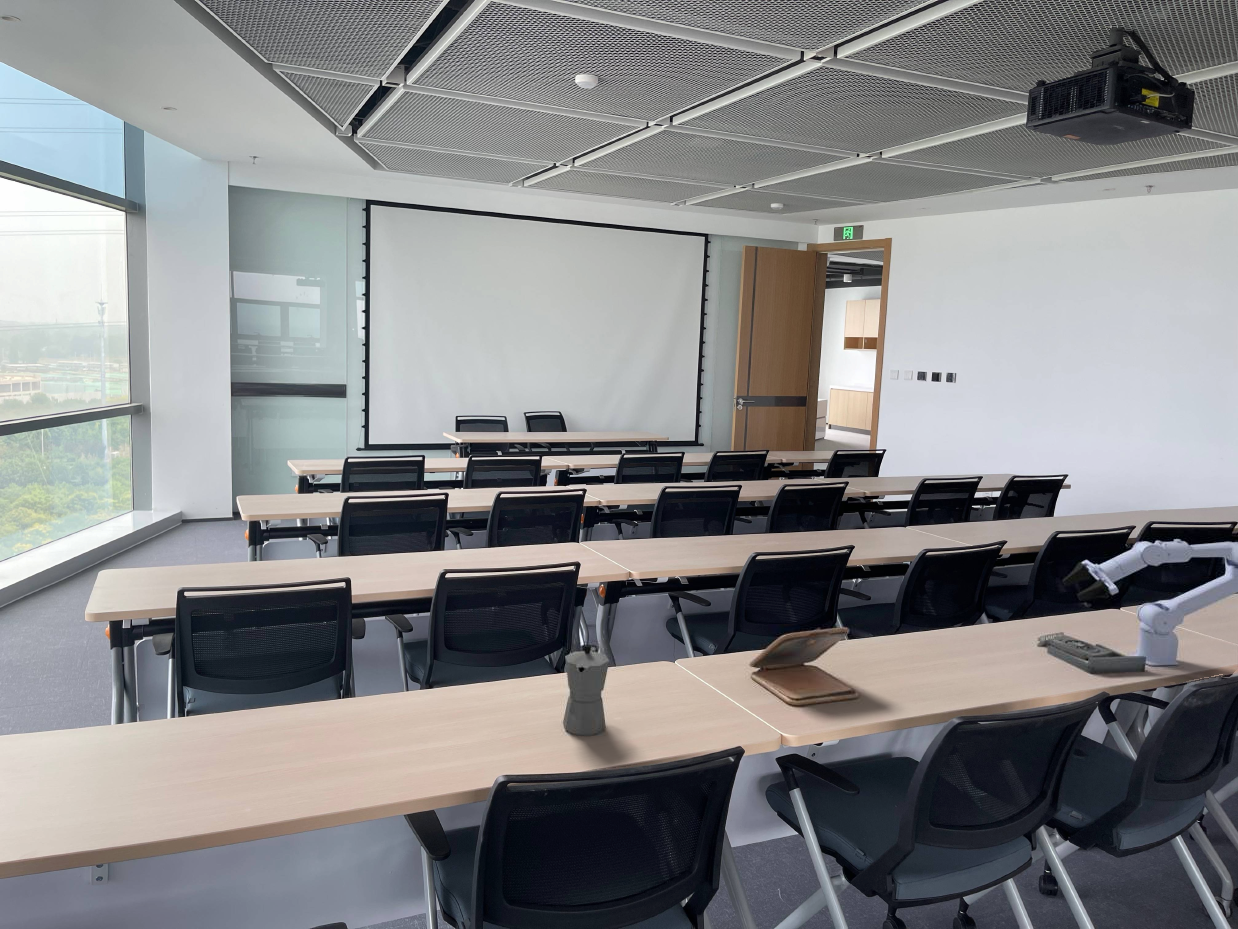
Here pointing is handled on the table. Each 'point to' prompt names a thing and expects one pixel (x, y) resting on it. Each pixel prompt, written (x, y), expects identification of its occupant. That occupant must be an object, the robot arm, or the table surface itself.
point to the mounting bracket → (1103, 662)
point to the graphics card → (1074, 646)
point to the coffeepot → (585, 691)
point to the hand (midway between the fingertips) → (1071, 590)
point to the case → (801, 668)
